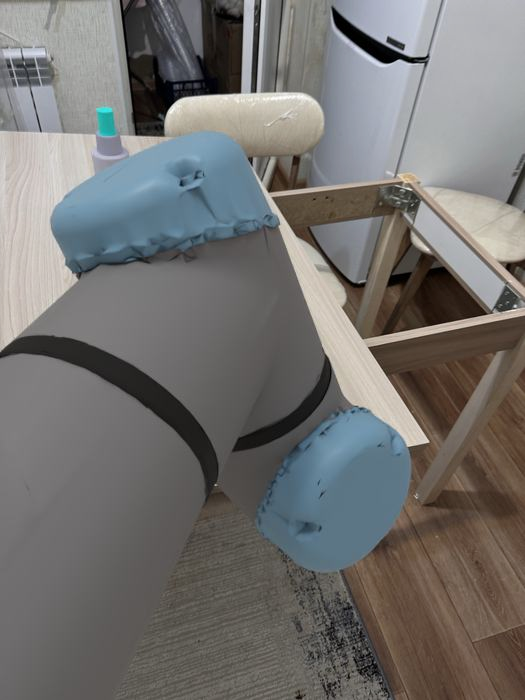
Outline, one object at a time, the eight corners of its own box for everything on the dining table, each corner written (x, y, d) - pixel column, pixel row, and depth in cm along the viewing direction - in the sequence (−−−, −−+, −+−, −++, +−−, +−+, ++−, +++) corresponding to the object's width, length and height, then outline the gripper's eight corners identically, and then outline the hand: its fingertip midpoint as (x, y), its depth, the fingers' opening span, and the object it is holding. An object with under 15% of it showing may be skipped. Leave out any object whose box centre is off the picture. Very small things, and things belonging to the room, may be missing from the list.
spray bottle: (101, 225, 93) (82, 103, 77) (133, 221, 95) (121, 102, 79) (106, 242, 89) (87, 117, 73) (139, 238, 91) (127, 116, 75)
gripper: (71, 551, 31) (14, 420, 47) (341, 327, 39) (212, 282, 55) (-7, 478, 27) (-40, 363, 43) (313, 245, 35) (183, 223, 51)
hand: (102, 317), depth 49 cm, fingers open, 13 cm apart
